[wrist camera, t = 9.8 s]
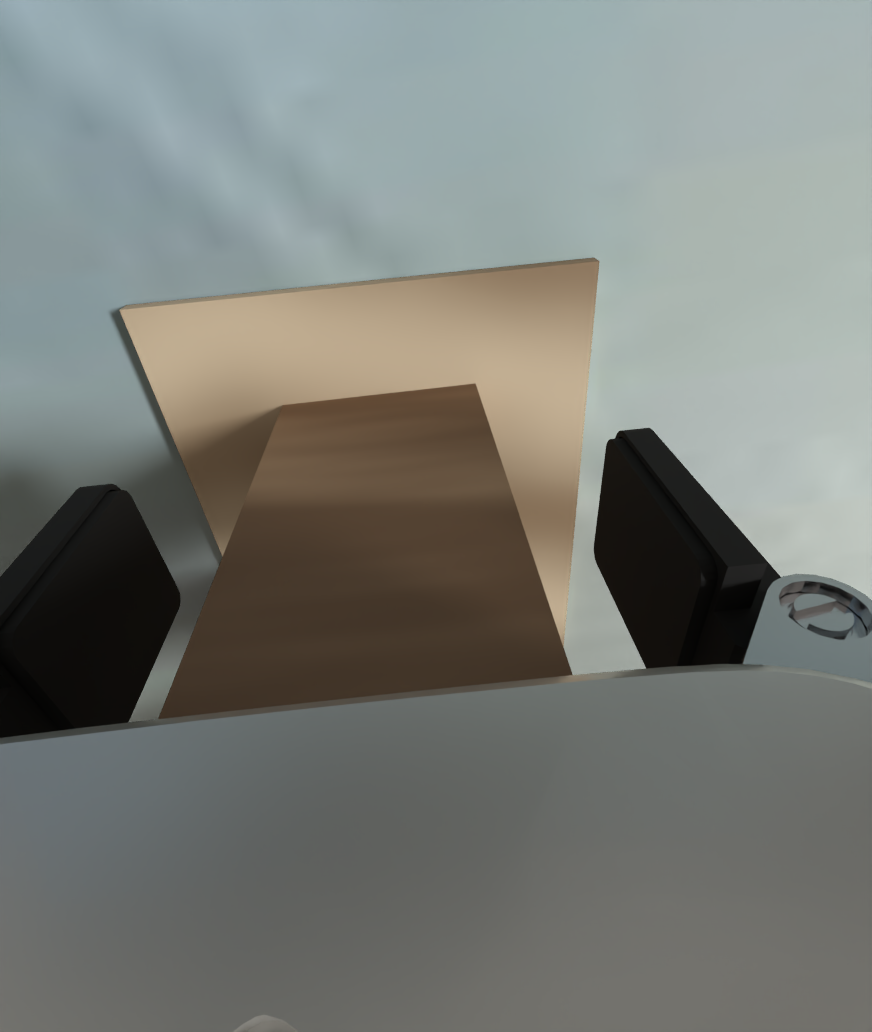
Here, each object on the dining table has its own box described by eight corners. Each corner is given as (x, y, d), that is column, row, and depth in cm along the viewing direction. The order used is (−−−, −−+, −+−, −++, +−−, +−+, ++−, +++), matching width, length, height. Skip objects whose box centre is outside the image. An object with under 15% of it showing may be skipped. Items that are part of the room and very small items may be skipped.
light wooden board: (546, 799, 28) (548, 806, 28) (337, 821, 28) (336, 830, 27) (593, 257, 12) (599, 261, 12) (126, 305, 12) (119, 309, 12)
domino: (478, 438, 15) (585, 817, 7) (297, 458, 15) (182, 864, 7) (475, 383, 14) (596, 746, 6) (282, 404, 14) (125, 801, 6)
